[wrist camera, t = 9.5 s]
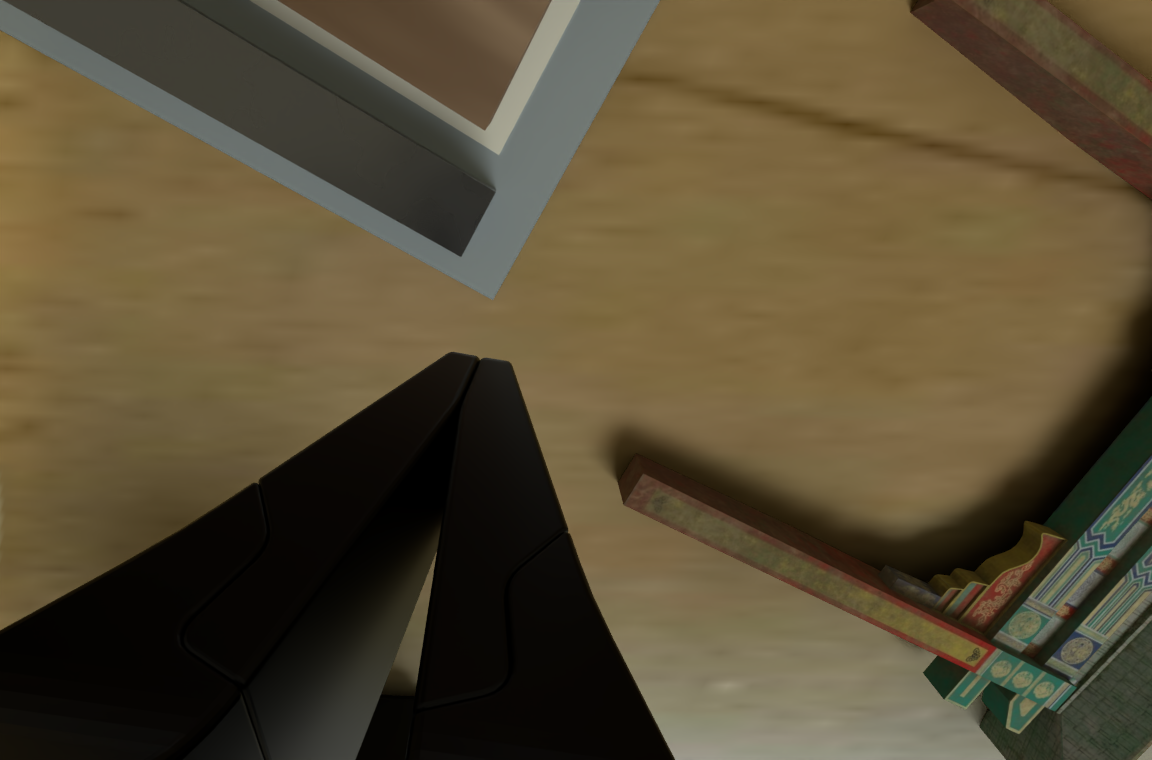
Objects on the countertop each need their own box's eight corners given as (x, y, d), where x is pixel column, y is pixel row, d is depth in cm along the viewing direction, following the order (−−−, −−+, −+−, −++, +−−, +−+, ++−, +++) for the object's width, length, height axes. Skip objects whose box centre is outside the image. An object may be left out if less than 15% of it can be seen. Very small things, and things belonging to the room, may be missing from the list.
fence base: (465, 248, 19) (461, 257, 17) (43, 9, 15) (-21, -13, 14) (496, 190, 18) (495, 192, 16) (67, -69, 15) (5, -103, 13)
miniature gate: (1138, -259, 14) (1794, 346, 19) (972, -133, 19) (1526, 313, 25) (569, 624, 20) (1188, 889, 26) (564, 534, 25) (1078, 770, 31)
